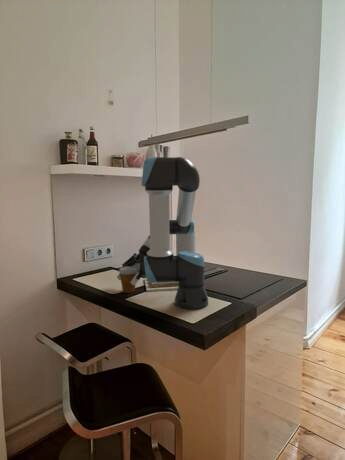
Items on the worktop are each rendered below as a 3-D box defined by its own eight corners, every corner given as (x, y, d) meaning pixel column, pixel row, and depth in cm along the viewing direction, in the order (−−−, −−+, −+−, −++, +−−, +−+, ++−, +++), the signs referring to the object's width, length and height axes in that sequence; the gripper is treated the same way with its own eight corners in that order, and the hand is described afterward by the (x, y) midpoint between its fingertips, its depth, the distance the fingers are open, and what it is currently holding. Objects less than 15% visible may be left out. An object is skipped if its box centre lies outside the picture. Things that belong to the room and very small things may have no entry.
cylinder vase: (187, 265, 215) (187, 229, 212) (199, 268, 204) (198, 231, 201) (172, 267, 208) (172, 230, 205) (183, 271, 198) (183, 232, 195)
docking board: (188, 289, 161) (188, 283, 161) (146, 291, 158) (146, 285, 158) (181, 277, 183) (181, 272, 182) (144, 279, 179) (144, 274, 179)
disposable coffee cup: (141, 290, 160) (141, 267, 158) (127, 295, 153) (126, 271, 151) (130, 287, 166) (129, 265, 165) (115, 291, 159) (114, 268, 158)
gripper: (166, 256, 158) (143, 291, 150) (139, 250, 177) (117, 280, 169) (158, 247, 154) (134, 282, 146) (131, 241, 173) (108, 272, 165)
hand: (125, 281), depth 158 cm, fingers open, 13 cm apart
